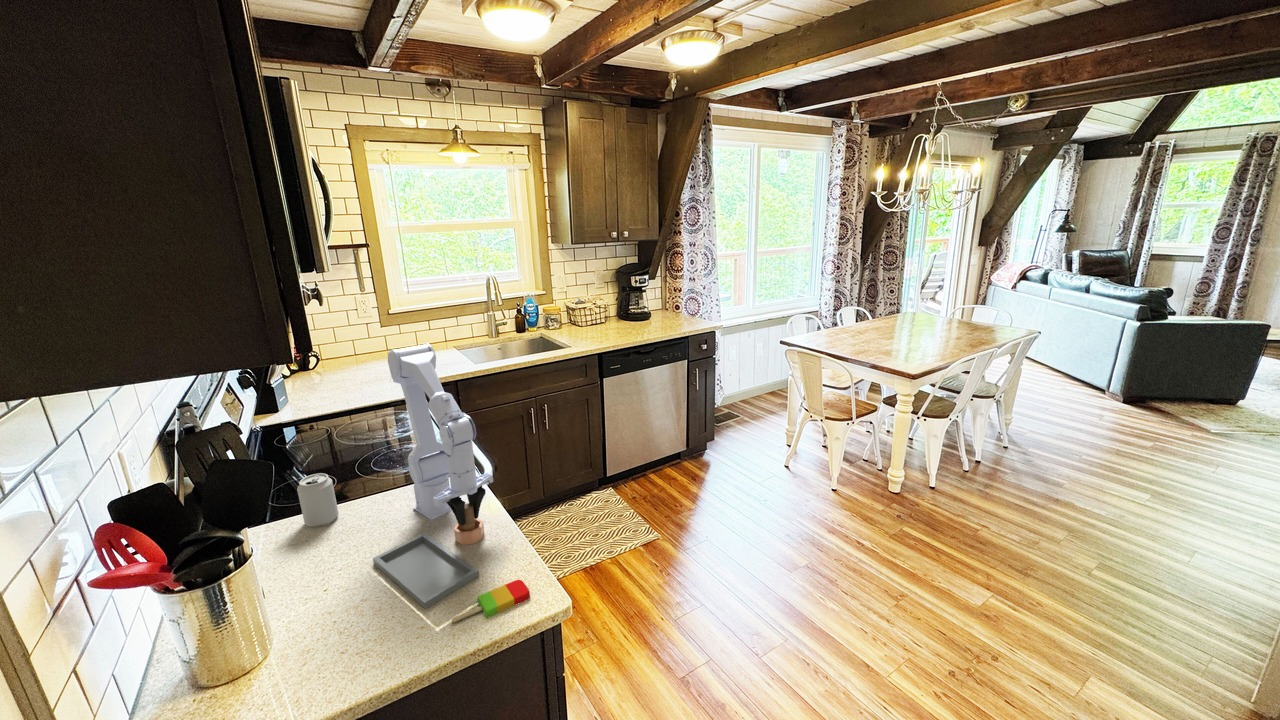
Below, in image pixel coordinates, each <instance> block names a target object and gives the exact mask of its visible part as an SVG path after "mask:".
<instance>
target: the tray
mask: <svg viewBox="0 0 1280 720" xmlns="http://www.w3.org/2000/svg"><path fill="white" fill-rule="evenodd" d="M372 562H373V565H374V566H376V568H378V569H379V570H380V571H381V572H382V573H383V574H384V575H386V577H388V578H389V579H390V580H391V581H392V582H393V583H395V584H396V585H397V586H398V587H399V588H400V589H401V590H403V591H404V592H405V593H406V594H407V595H409V596H410V597H411V598H412V599H413V600H414V601H416V602H417V604H418V605H420V606H421V607H422V608H423V609H425V610H427V609H428V608H431V607H432V606H433V605H435V604H437V603H438V602H440V601H442V600H443V599H445V598H446V597H448V596H450V595H451V594H452V593H455V592H456V591H458V590H459V589H461V588H462V587H464V586H466V585H467V584H470V583H471V582H472V581H474V580H475V579H477V578H478V577H480V574H479V570H478V569H477V568H476V567H475V566H473V565H471V564H470V563H468V562H467V561H466V560H464V559H463V558H461V557H460V556H459V555H457V554H455V552H453V551H451V550H450V549H448V548H447V547H446V546H445V545H443V544H441V542H439V541H437V540H436V539H434V538H433V537H431V536H430V535H428V534H427V533H426V532H422V533H421V534H419V535H418V534H417V536H414V537H413V538H411V539H408V540H406V541H405V542H403V543H400V544H399V545H397V546H395V547H393V548H390V549H389V550H386V551H384V552H383V553H380V554H379V555H376V556H375V557H373V558H372Z"/></svg>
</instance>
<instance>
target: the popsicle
mask: <svg viewBox="0 0 1280 720" xmlns="http://www.w3.org/2000/svg"><path fill="white" fill-rule="evenodd" d="M530 592H531V591H530V589H529V588H528V586H527V585H526V583H525V582H524V581H523V580H522V579H516V580H513V581H511V582H509V583H506V584H503V585H501V586H498V587H496V588H494V589H491V590H490V591H486V592H485V593H482V594H480V595H478V596H477V603H478V607H476V608H475V607H474V608H473V609H471V610H468V611H466V612H463V613H462V614H460V615H457V616H455V617H453V618H451V622H452V623H453V624H454V623H457V622H459V621H461V620H463V619H465V618H468V617H470V616H473V615H475V614H477V613H479V612H481V611H482V612H483V614H484V616H485V617H486V619H488V618H491V617H493V616H495V615H496V614H499V613H501V612H504V611H505V610H508V609H510V608H512V607H515V606H516V604H517V605H519V604H522V603H523V602H526V601H527V600H529V599H530V597H531V595H530V594H531V593H530ZM525 600H526V601H525ZM518 603H519V604H518Z"/></svg>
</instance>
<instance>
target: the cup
mask: <svg viewBox="0 0 1280 720" xmlns="http://www.w3.org/2000/svg"><path fill="white" fill-rule="evenodd" d="M475 526H476V529H474V530H472V531H467V532H463V530H462V525H460V524H459V523H458V522H456V523H455V526H454V529H453V532H454V533H453V534H454V541H455V542H456V543H458V544H460V546H463V545H473V544H475V543H477V542H479V541H480V540H482V539H483V538H484V534H485V527H484V526H485V525H484V520H481V519H480V518H479V517H478V518H477V519H475Z"/></svg>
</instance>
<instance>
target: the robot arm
mask: <svg viewBox="0 0 1280 720" xmlns="http://www.w3.org/2000/svg"><path fill="white" fill-rule="evenodd" d="M436 364H437V356H436V351H435V350H434V347H433V346H432V345H431V344H430V343H424V344H420V345H415V346H414V345H413V346H408V347H402V348H398V349H395V348H394V349H390V351H389V352H388V354H387V365H388V368H389V372H390V376H391V379H392V381H393V383H395V384H400V387H401V390H402V392H403V396H404V401H405V404H406V408H407V409H406V410H407V411H408V415H409V416H408V417H409V419H410V423H411V429H412V432H413V435H414V439H415V440H414V441H415V443H416V445H415V446H414V448H413V449H412V450H411V451H410V453H409V455H408V456H407V461H408V471H409V475H410V477H411V479H412V482H413V492H414V496H415V497H414V498H415V506H413V510H414V511H416V512H417V513H420V514H421V515H423V516H425V517H426V518H428V519H429V520H435V519H437V518H439V517H441V516H442V515H445V514H447V513H449V512H451V511H452V513H453V514H454V517H455V519H456V523H459V524H460V525H462V526H463V525H465V515H464V508H465V504H466V501H465V500H462V496H466V497H467V499H468V500H467V501H468V503H470V504H473V509H474V517H475V519H477V518H478V519H479V515H480V514H479V513H480V509H481V505H482V501H483V499H484V497H485V495H486V488H483V486H485V485H486V484H492V483H493V482H494V477H493V476H494V475H493V474H491V473H490V472H486V473H483V474H479V475H477V474H476V464H475V456H474V447H473V440H475V439H476V436H477V431H476V430H477V429H476V425H475V423H474V420H473V419H472V418H471V416H470V415H468V414H466V412H462V410H461V409H460V406H459V405H458V403H457V401H456V400H455V399H454V396H453V394H452V393H449V392H445V390H444V388H443V386H442V383H441V380H440V379H439V376H438V374H437V372H436V367H437V365H436ZM426 395H427V396H426ZM427 397H428V398H429V402H428V401H427ZM431 414H432V416H433V417H434V419H435V422H436V424H437V425H438V427H439V431H438V433H439V437H440V440H441V441H438V440H437V436H436V433H435V429H434V425H433V421H432V417H431Z"/></svg>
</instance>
